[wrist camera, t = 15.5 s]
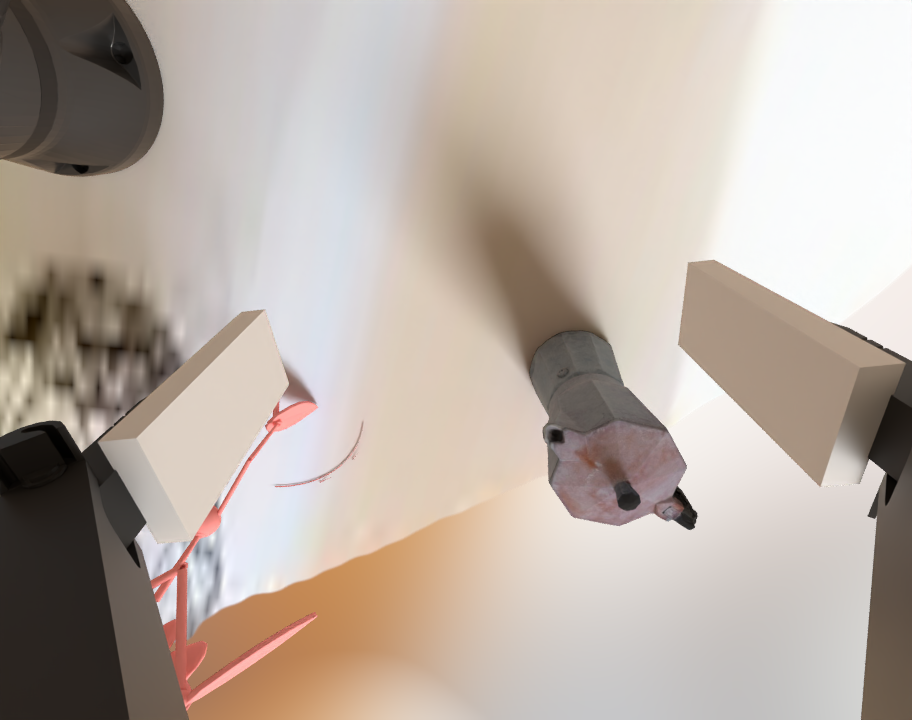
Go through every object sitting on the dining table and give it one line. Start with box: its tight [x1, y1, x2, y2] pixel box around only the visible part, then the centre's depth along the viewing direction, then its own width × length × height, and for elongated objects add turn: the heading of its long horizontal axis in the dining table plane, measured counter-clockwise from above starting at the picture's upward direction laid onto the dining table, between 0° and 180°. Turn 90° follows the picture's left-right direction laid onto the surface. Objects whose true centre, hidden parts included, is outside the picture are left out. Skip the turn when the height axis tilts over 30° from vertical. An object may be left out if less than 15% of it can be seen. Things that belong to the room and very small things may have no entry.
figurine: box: [151, 401, 363, 711], centre depth 37 cm, size 15×26×35 cm, turn 115°
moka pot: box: [529, 331, 697, 530], centre depth 39 cm, size 10×15×20 cm, turn 59°
